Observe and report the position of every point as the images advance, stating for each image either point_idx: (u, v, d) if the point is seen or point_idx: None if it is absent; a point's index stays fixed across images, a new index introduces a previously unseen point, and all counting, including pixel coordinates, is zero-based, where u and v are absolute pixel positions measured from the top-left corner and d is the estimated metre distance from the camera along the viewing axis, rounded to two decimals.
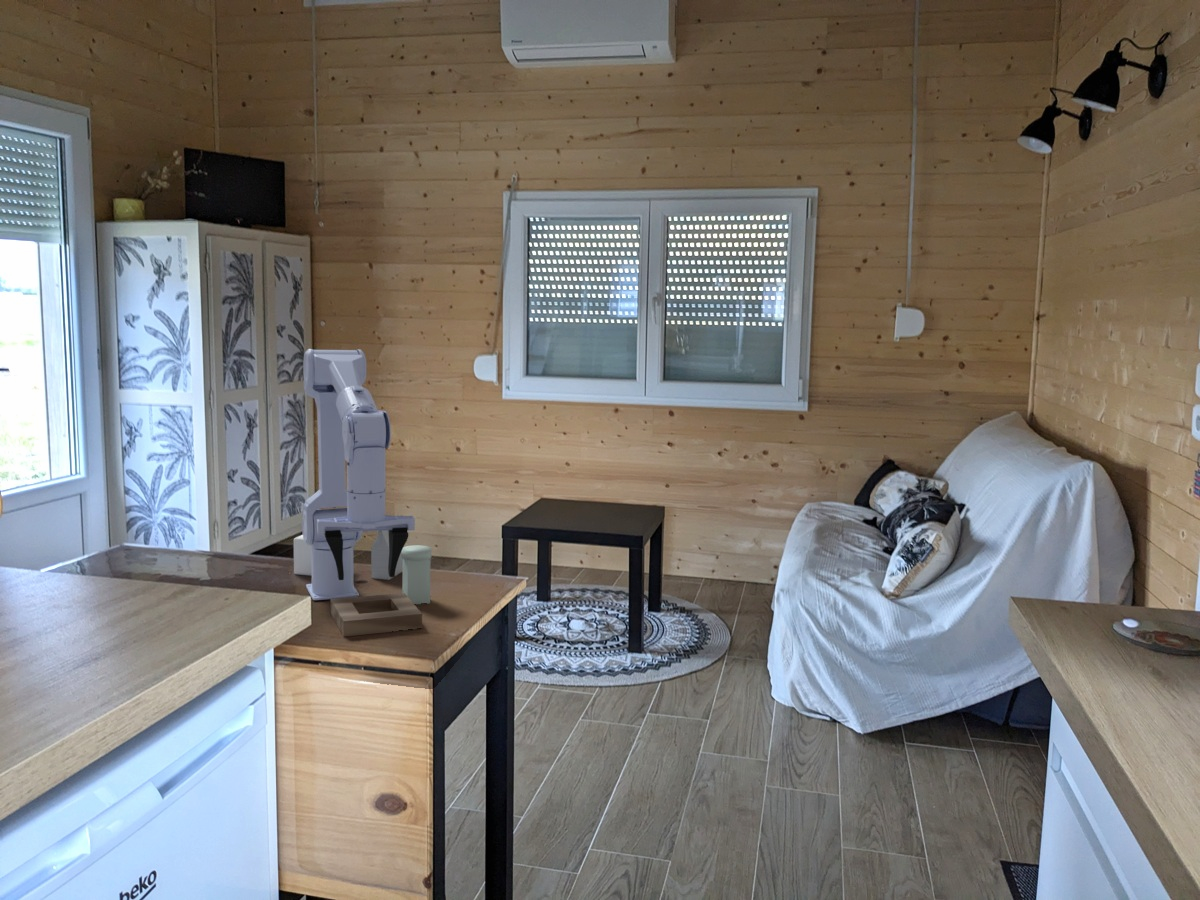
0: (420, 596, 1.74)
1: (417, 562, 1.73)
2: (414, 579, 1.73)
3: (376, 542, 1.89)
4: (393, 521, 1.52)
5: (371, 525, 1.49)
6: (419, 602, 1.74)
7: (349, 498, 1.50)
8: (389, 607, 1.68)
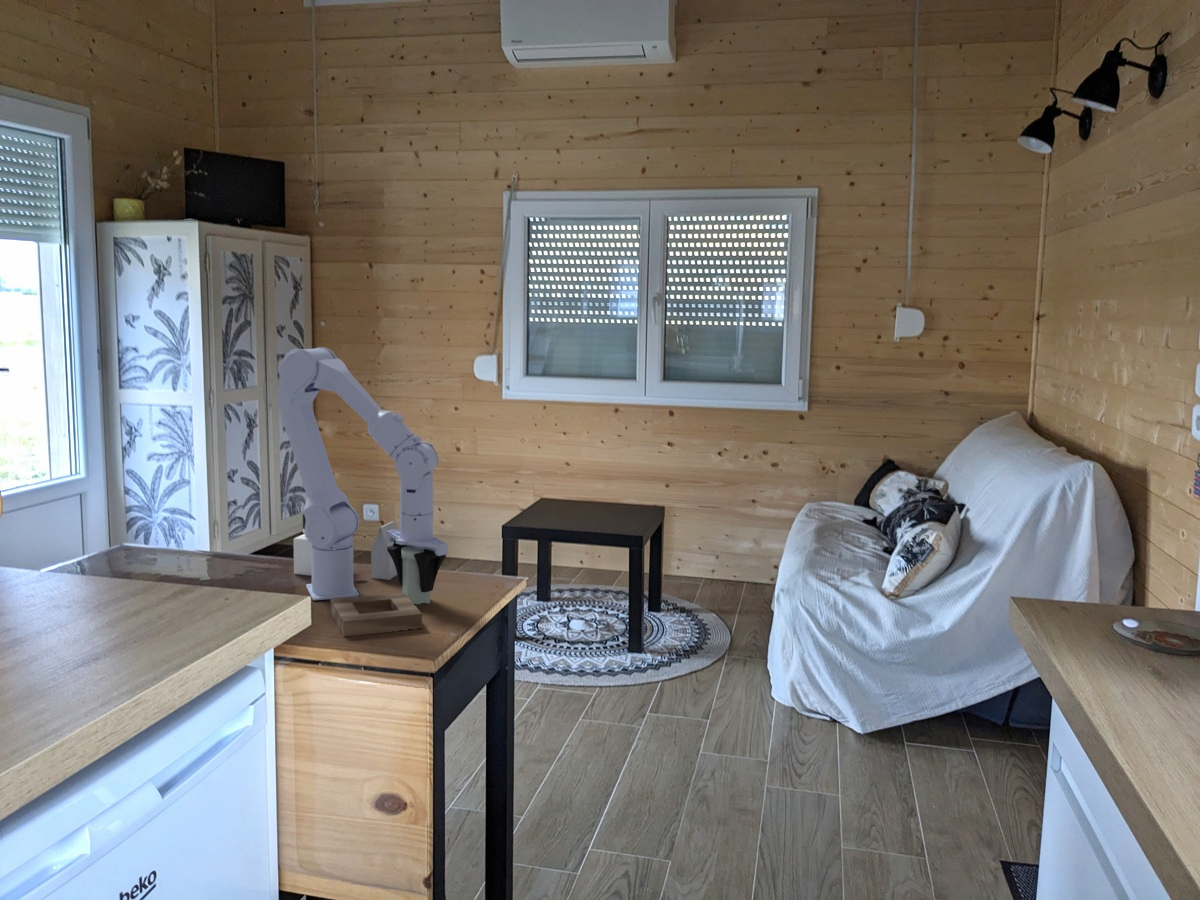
0: (420, 596, 1.74)
1: None
2: (414, 579, 1.73)
3: (376, 542, 1.89)
4: (422, 543, 1.70)
5: (399, 541, 1.71)
6: (419, 602, 1.74)
7: None
8: (389, 607, 1.68)
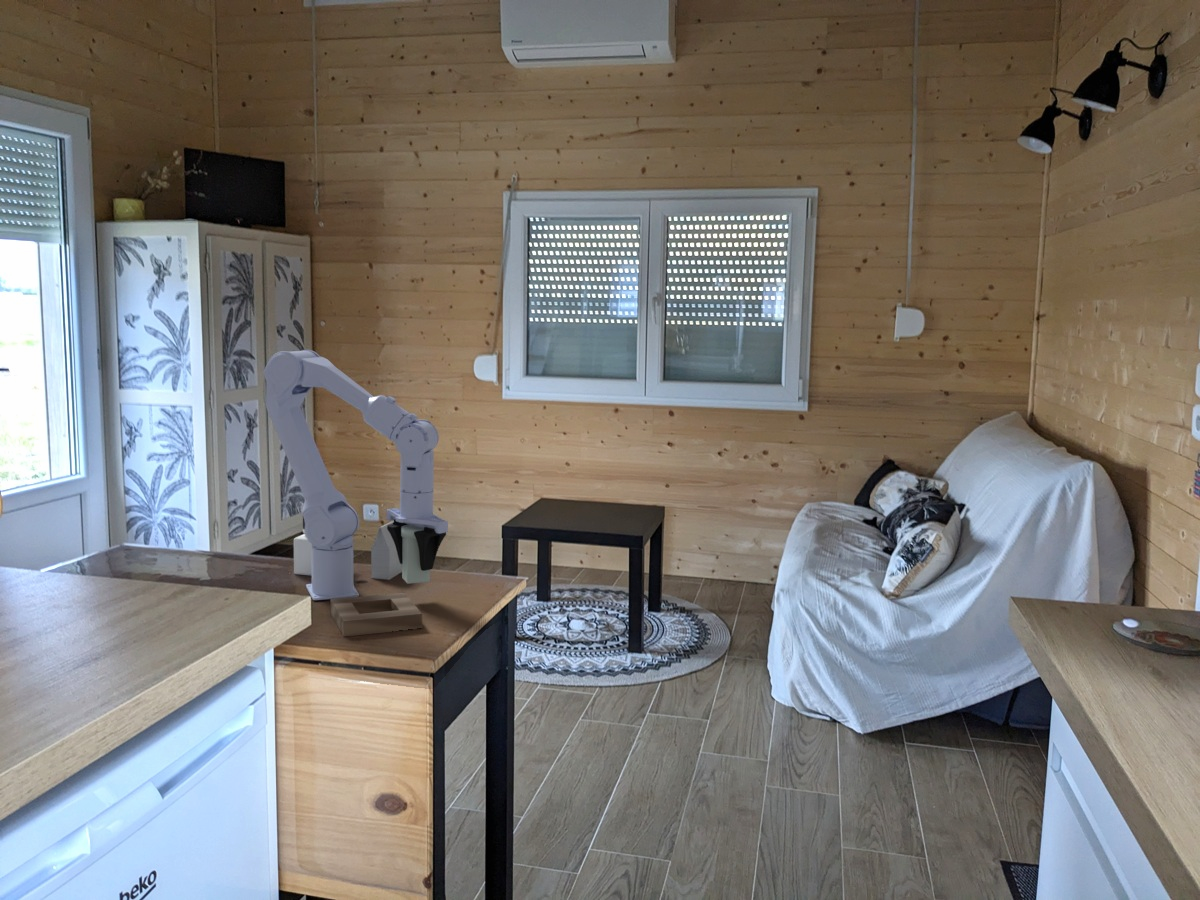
0: (420, 574, 1.73)
1: None
2: (414, 557, 1.73)
3: (376, 542, 1.89)
4: (422, 521, 1.70)
5: (399, 519, 1.71)
6: (419, 580, 1.74)
7: None
8: (389, 607, 1.68)
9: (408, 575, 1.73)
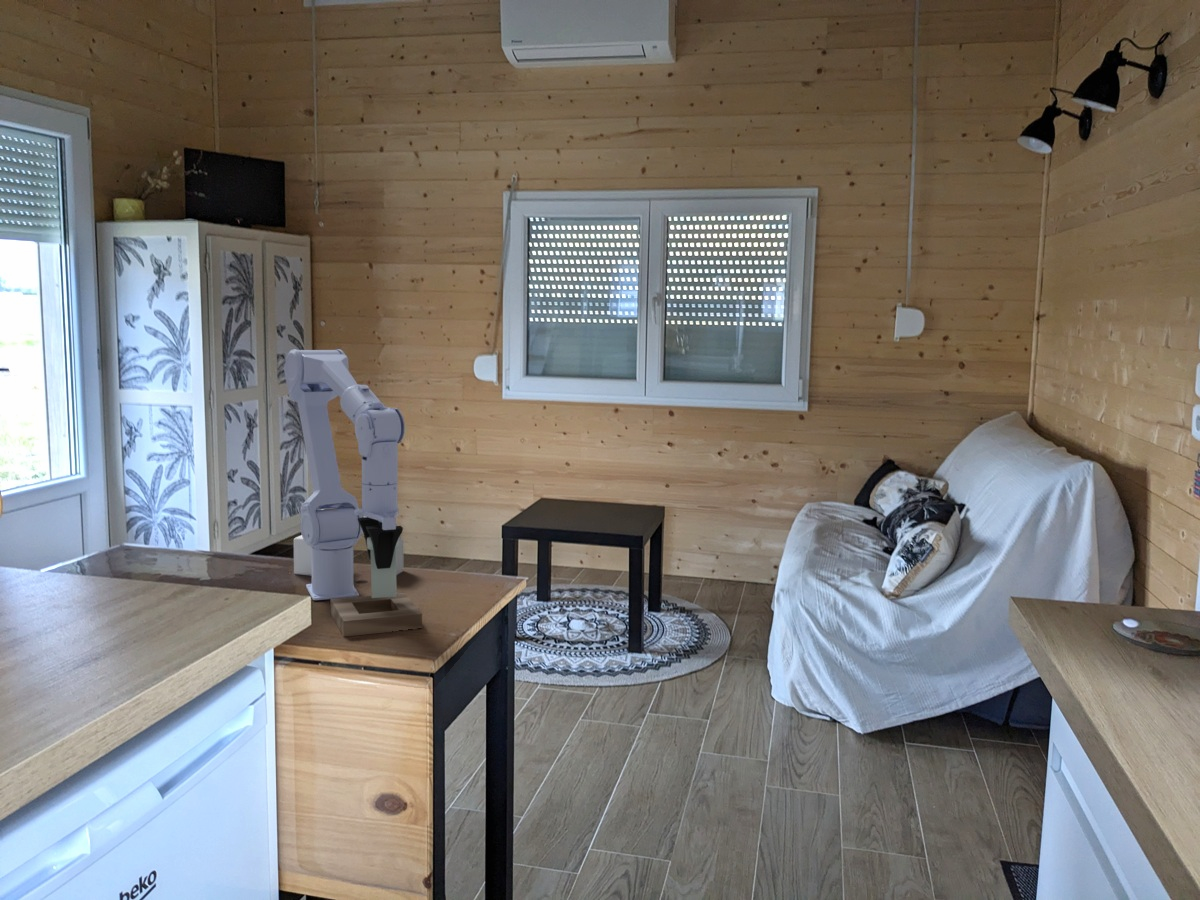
0: (385, 589, 1.63)
1: None
2: (378, 570, 1.62)
3: None
4: (373, 515, 1.58)
5: (355, 512, 1.61)
6: (384, 595, 1.63)
7: None
8: (389, 607, 1.68)
9: (372, 589, 1.62)
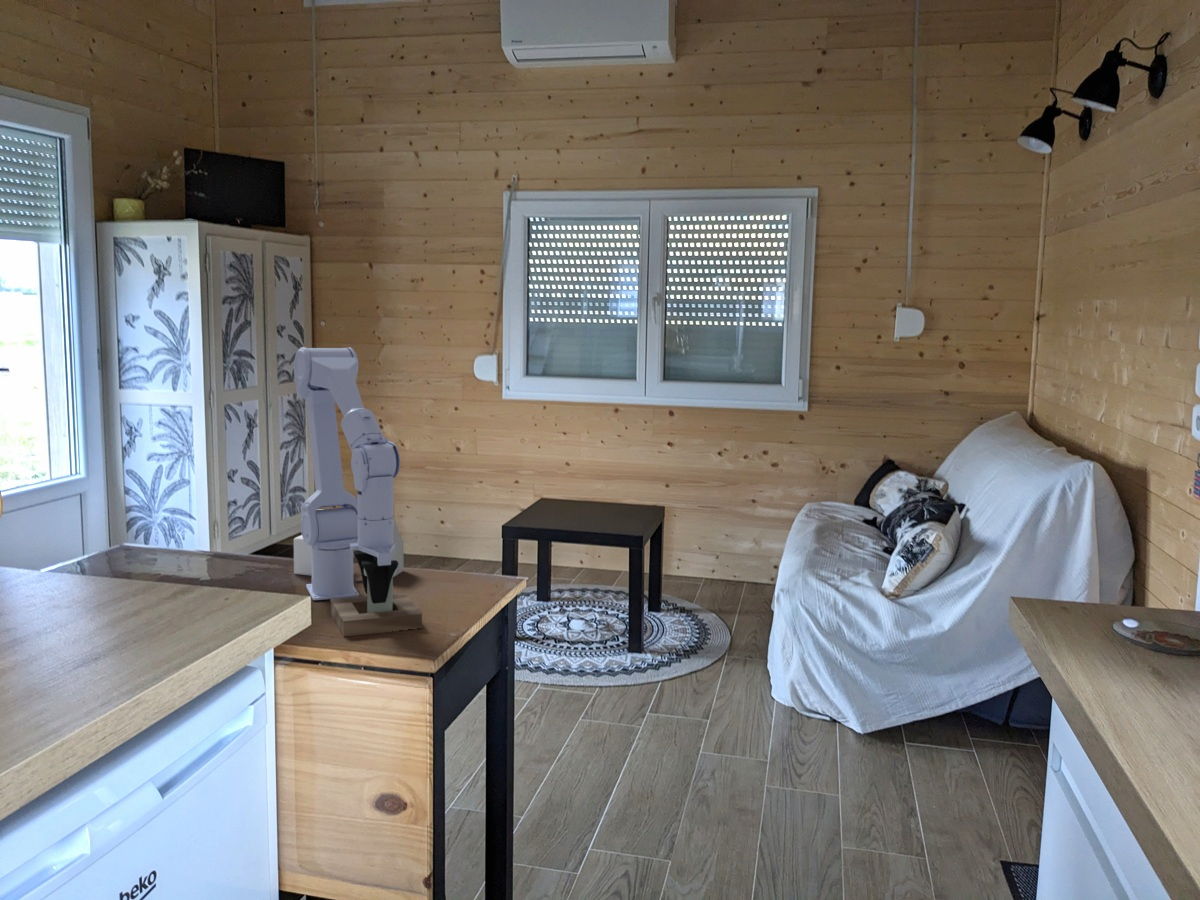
0: None
1: None
2: None
3: None
4: (368, 550, 1.58)
5: (351, 546, 1.60)
6: None
7: None
8: None
9: None
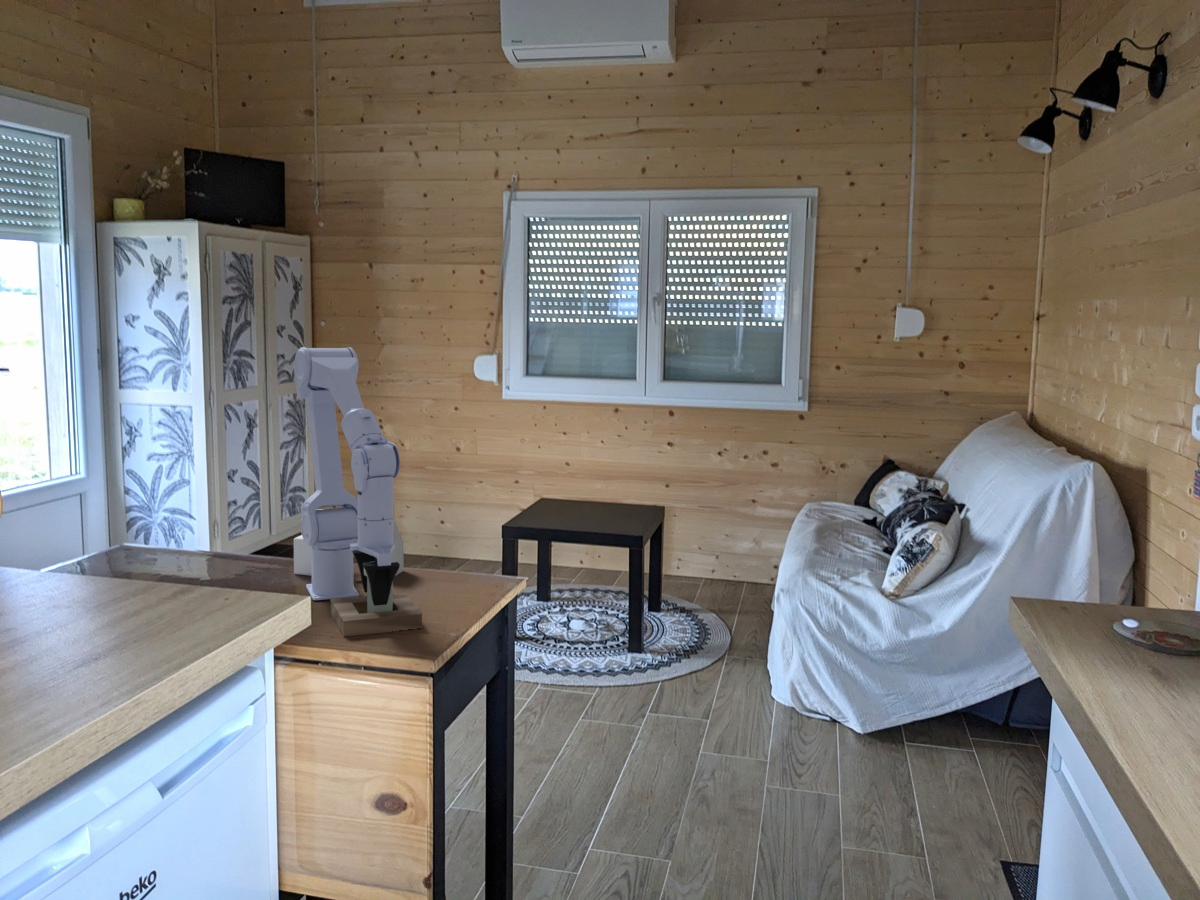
0: None
1: None
2: None
3: None
4: (368, 550, 1.58)
5: (351, 546, 1.60)
6: None
7: None
8: None
9: None
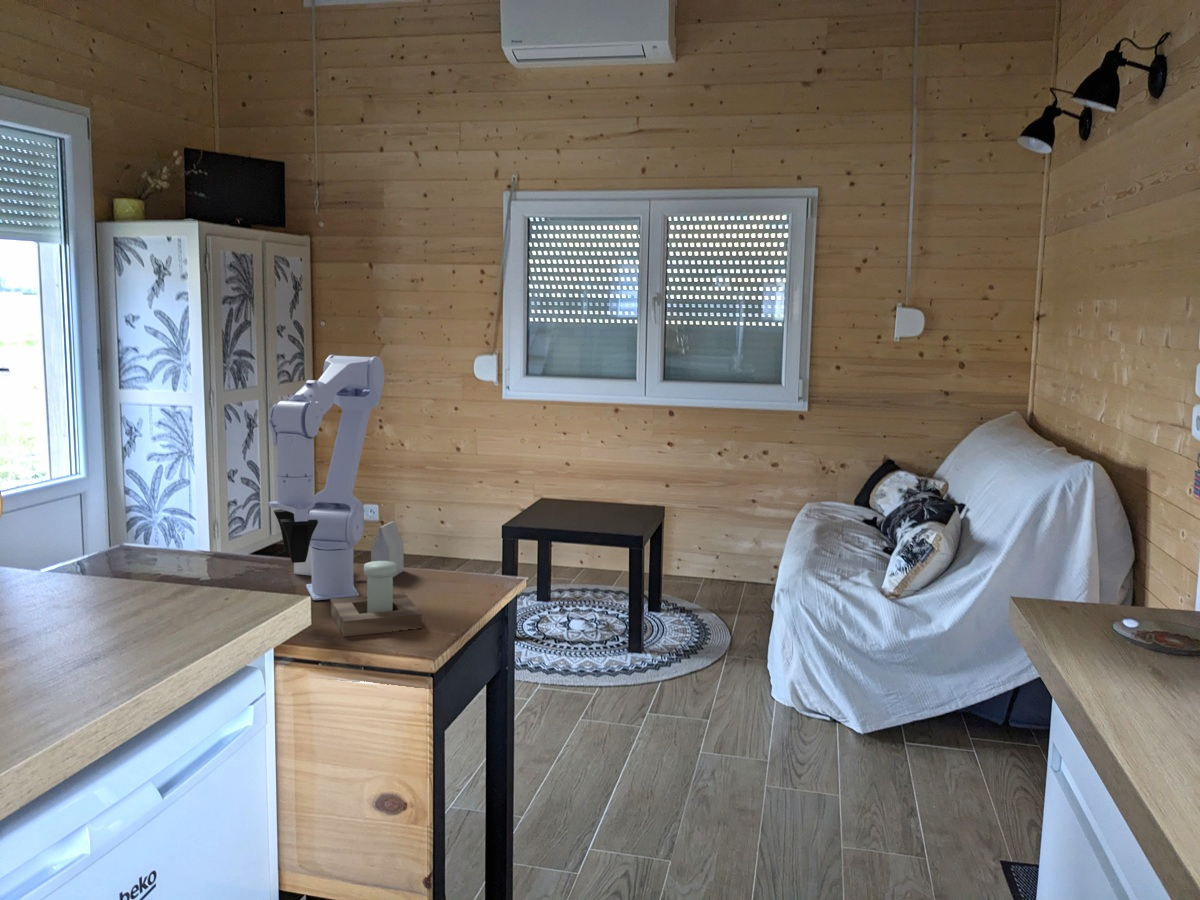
0: None
1: (378, 579, 1.61)
2: (374, 597, 1.62)
3: (376, 542, 1.89)
4: (286, 507, 1.57)
5: (269, 504, 1.60)
6: None
7: None
8: None
9: None
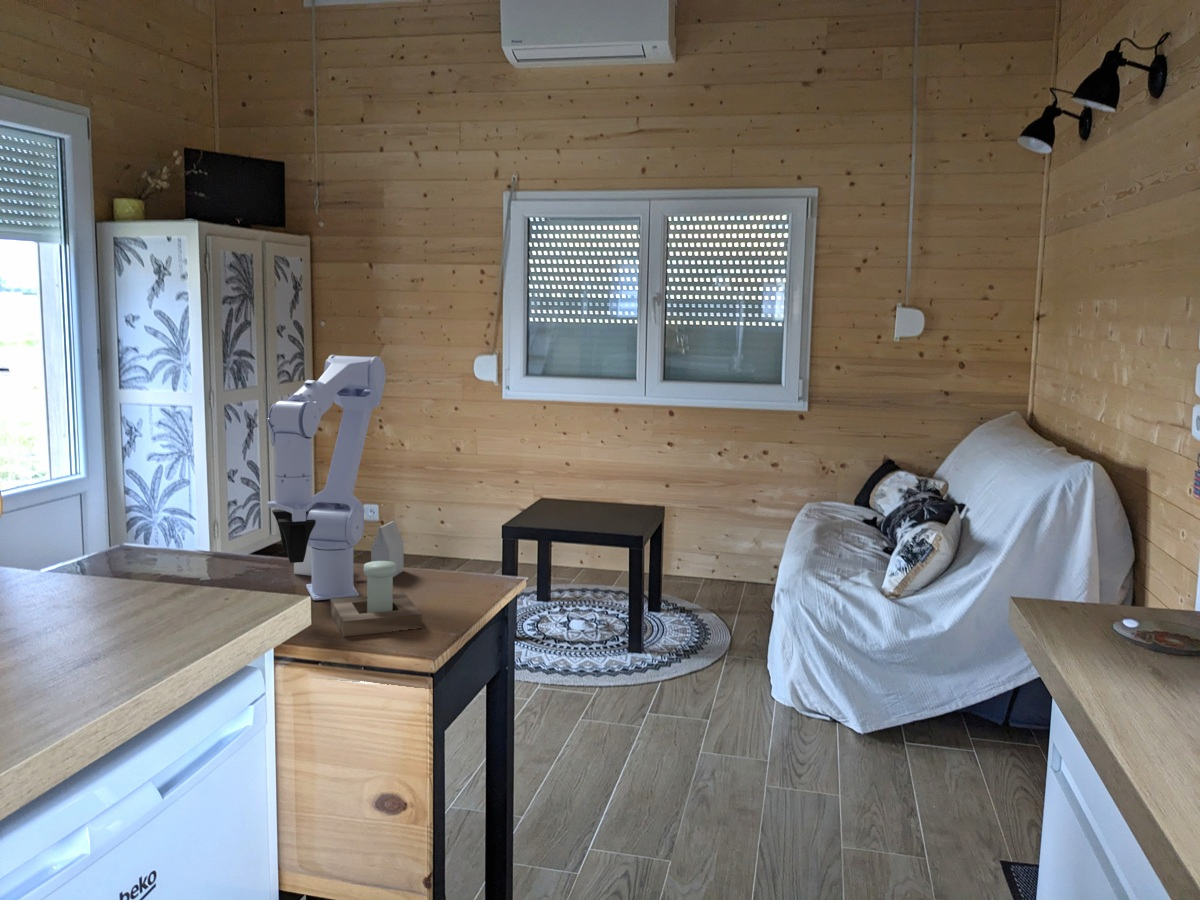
0: None
1: (377, 579, 1.61)
2: (374, 597, 1.62)
3: (376, 542, 1.89)
4: (284, 507, 1.57)
5: (268, 503, 1.60)
6: None
7: None
8: None
9: None
